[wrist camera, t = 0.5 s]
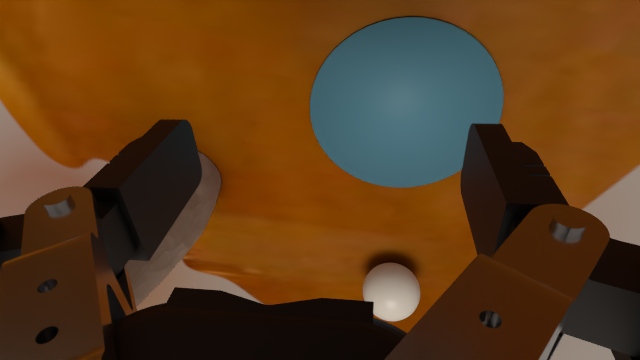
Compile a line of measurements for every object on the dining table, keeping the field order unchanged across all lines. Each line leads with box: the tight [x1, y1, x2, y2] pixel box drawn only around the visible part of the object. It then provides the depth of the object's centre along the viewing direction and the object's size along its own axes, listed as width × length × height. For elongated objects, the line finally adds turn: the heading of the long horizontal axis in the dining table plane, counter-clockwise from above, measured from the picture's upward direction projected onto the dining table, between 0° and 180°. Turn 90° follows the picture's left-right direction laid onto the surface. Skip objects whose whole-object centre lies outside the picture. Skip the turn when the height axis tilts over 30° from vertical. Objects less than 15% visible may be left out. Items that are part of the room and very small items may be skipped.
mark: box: [310, 17, 503, 187], centre depth 30 cm, size 14×14×1 cm
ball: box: [363, 263, 420, 321], centre depth 39 cm, size 6×6×6 cm
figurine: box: [125, 152, 221, 307], centre depth 27 cm, size 8×8×25 cm
